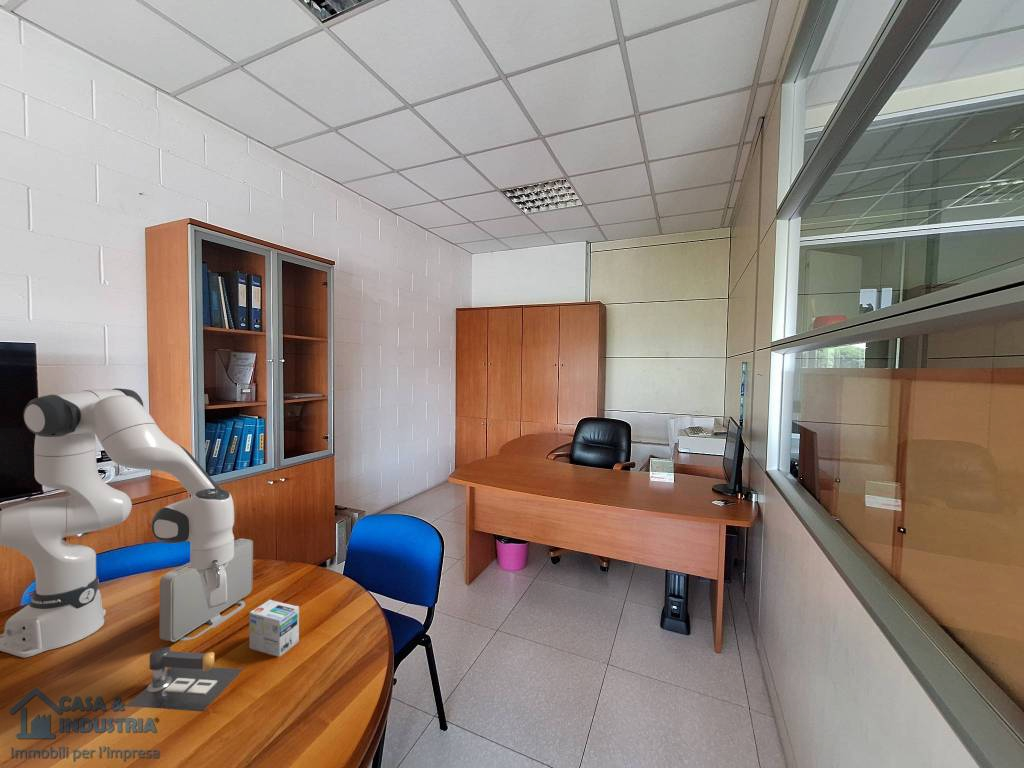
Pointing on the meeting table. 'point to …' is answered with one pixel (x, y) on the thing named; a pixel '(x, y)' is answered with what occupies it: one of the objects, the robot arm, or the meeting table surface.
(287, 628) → the light bulb box
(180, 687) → the psu label
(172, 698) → the dark grey flat plate
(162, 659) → the dark grey lever handle
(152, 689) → the pivot post
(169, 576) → the network device
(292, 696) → the meeting table surface
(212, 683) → the white flat rectangle
